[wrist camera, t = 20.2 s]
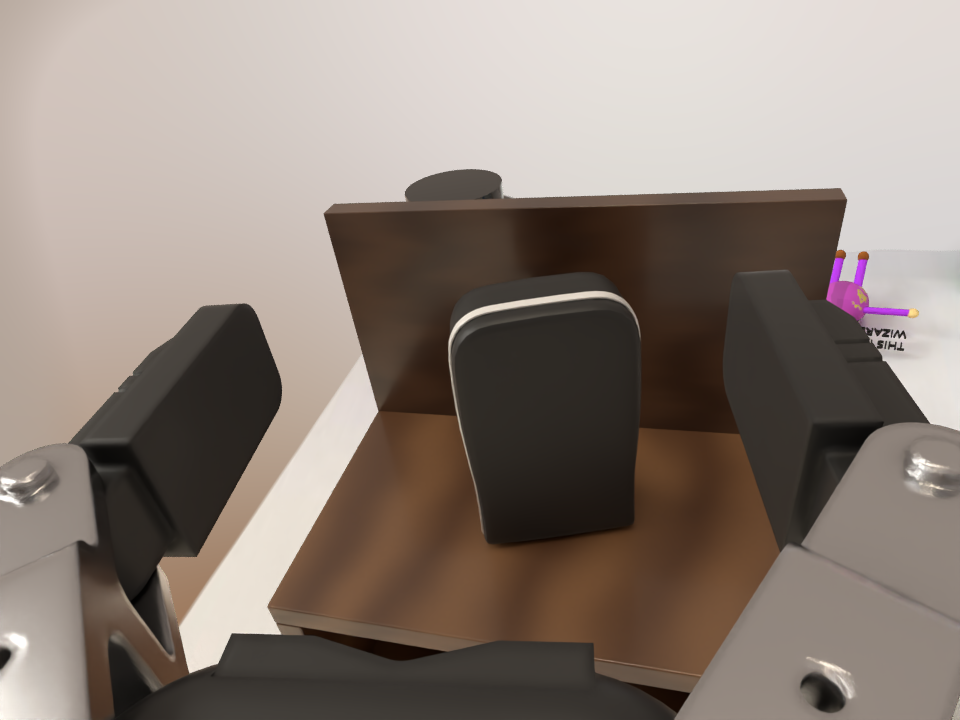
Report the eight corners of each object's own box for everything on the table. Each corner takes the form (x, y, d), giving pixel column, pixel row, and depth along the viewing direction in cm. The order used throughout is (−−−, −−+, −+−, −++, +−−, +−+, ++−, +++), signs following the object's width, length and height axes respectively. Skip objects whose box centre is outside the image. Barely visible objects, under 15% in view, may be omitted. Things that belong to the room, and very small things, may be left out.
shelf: (328, 724, 32) (144, 375, 20) (416, 513, 43) (333, 203, 31) (806, 826, 26) (972, 420, 14) (767, 551, 37) (841, 187, 25)
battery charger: (619, 468, 30) (620, 250, 24) (642, 530, 27) (649, 298, 21) (475, 488, 31) (437, 276, 24) (481, 552, 27) (438, 328, 21)
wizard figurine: (929, 245, 53) (912, 354, 47) (924, 273, 55) (908, 380, 49) (782, 242, 59) (752, 337, 53) (783, 267, 61) (754, 362, 56)
